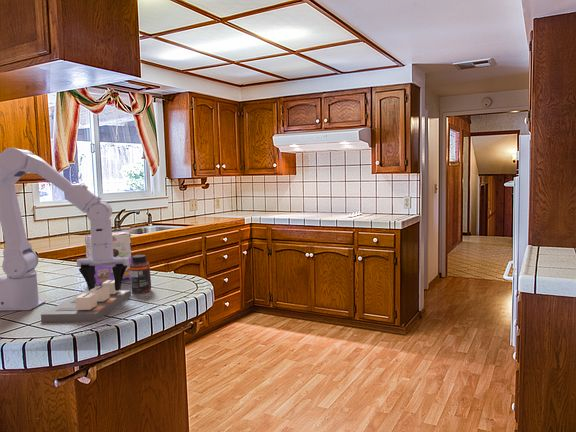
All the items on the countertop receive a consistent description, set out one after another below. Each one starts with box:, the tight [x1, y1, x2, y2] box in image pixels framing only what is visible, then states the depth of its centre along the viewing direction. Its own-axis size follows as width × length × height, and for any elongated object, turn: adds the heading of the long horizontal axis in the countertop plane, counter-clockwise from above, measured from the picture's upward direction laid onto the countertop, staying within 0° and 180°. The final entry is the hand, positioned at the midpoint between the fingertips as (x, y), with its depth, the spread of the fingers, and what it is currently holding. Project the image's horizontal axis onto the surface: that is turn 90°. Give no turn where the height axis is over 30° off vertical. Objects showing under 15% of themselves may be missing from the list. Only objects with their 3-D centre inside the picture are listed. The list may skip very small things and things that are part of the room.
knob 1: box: [90, 285, 110, 302], centre depth 125 cm, size 4×4×3 cm
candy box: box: [84, 231, 133, 287], centre depth 157 cm, size 14×6×16 cm, turn 134°
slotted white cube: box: [76, 293, 97, 310], centre depth 118 cm, size 4×4×3 cm
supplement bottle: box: [130, 254, 152, 294], centre depth 142 cm, size 6×6×11 cm
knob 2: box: [101, 280, 121, 294], centre depth 132 cm, size 4×4×3 cm
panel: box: [40, 289, 132, 323], centre depth 125 cm, size 14×23×2 cm, turn 178°
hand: (104, 290), depth 133 cm, fingers open, 7 cm apart
